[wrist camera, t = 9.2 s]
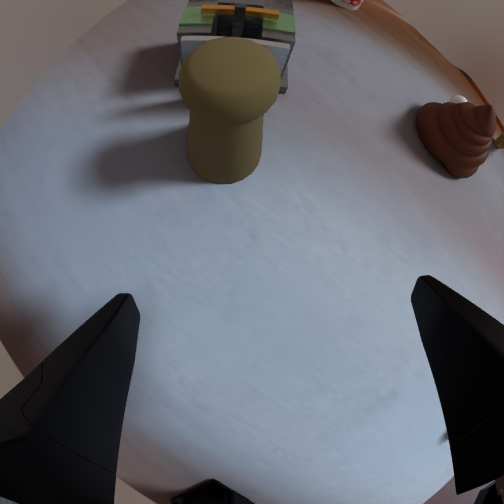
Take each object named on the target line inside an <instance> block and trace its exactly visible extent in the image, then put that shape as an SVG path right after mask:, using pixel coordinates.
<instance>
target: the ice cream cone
mask: <svg viewBox="0 0 504 504" xmlns="http://www.w3.org/2000/svg"><path fill="white" fill-rule="evenodd" d="M495 145H496V147H497V148H504V132H503V133H502V134H501V135H500V136H499V137H498V138H497V139H496V140H495Z"/></svg>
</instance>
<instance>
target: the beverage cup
mask: <svg viewBox="0 0 504 504" xmlns="http://www.w3.org/2000/svg"><path fill="white" fill-rule="evenodd" d="M331 1H332V2H333V3H335V4H337V5H338V6H340V7H343V8H345V9H349V10H356V9H358V8H359V6H360V5H361V4H362V2H363V1H364V0H331Z"/></svg>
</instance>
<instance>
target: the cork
mask: <svg viewBox="0 0 504 504" xmlns="http://www.w3.org/2000/svg"><path fill="white" fill-rule="evenodd" d="M178 85H179V90H180V93H181V96H182V99H183V102H184V103H185V104H186V106H187V107H188V108H189V109H190V119H189V130H188V141H187V158H188V161H189V164H190V166H191V168H192V169H193V170H194V171H195V173H196V174H197V175H199V176H200V177H202V178H203V179H205V180H206V181H209V182H213V183H217V184H231V183H235V182H238V181H241V180H243V179H244V178H246V177H247V176H249V175H250V174H251V173H252V172H253V171H254V169H255V168H256V167H257V165H258V163H259V160H260V156H261V148H262V131H263V115H264V113H265V112H266V111H267V110H268V109H269V108H270V107H271V106H272V105H273V103H274V102H275V101H276V98H277V96H278V93H279V89H280V86H281V75H280V68H279V65H278V64H277V62H276V60H275V59H274V57H273V56H272V54H271V53H270V52H269V51H268V50H267V49H266V48H265V47H263V46H262V45H260V44H258V43H256V42H254V41H252V40H249V39H244V38H240V37H221V38H216V39H211V40H209V41H207V42H204V43H202V44H200V45H199V46H198V47H196V48H195V49H194V50H193V51H192V52H191V53H190V54H189V55H188V56H187V57H186V59H185V61H184V62H183V64H182V66H181V69H180V73H179V82H178Z"/></svg>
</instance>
